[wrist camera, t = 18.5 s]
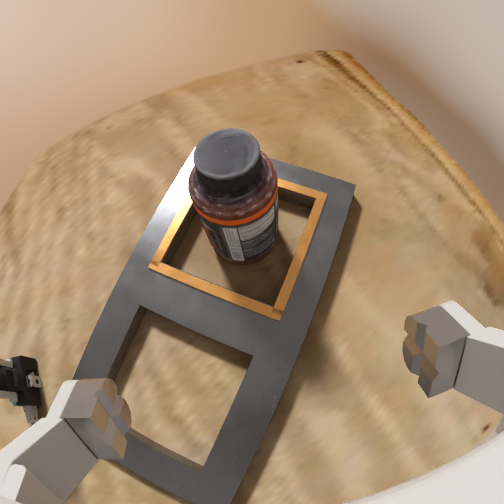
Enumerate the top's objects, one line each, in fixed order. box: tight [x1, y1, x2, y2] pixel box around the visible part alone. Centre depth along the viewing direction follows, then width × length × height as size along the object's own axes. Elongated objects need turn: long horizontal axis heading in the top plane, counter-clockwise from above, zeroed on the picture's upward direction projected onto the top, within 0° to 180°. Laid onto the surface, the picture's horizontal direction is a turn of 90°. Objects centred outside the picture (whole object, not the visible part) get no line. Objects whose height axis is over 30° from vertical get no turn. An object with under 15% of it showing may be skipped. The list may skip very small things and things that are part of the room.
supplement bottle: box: [188, 128, 278, 264], centre depth 23 cm, size 6×6×11 cm
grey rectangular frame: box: [72, 147, 356, 504], centre depth 25 cm, size 16×30×2 cm, turn 157°
